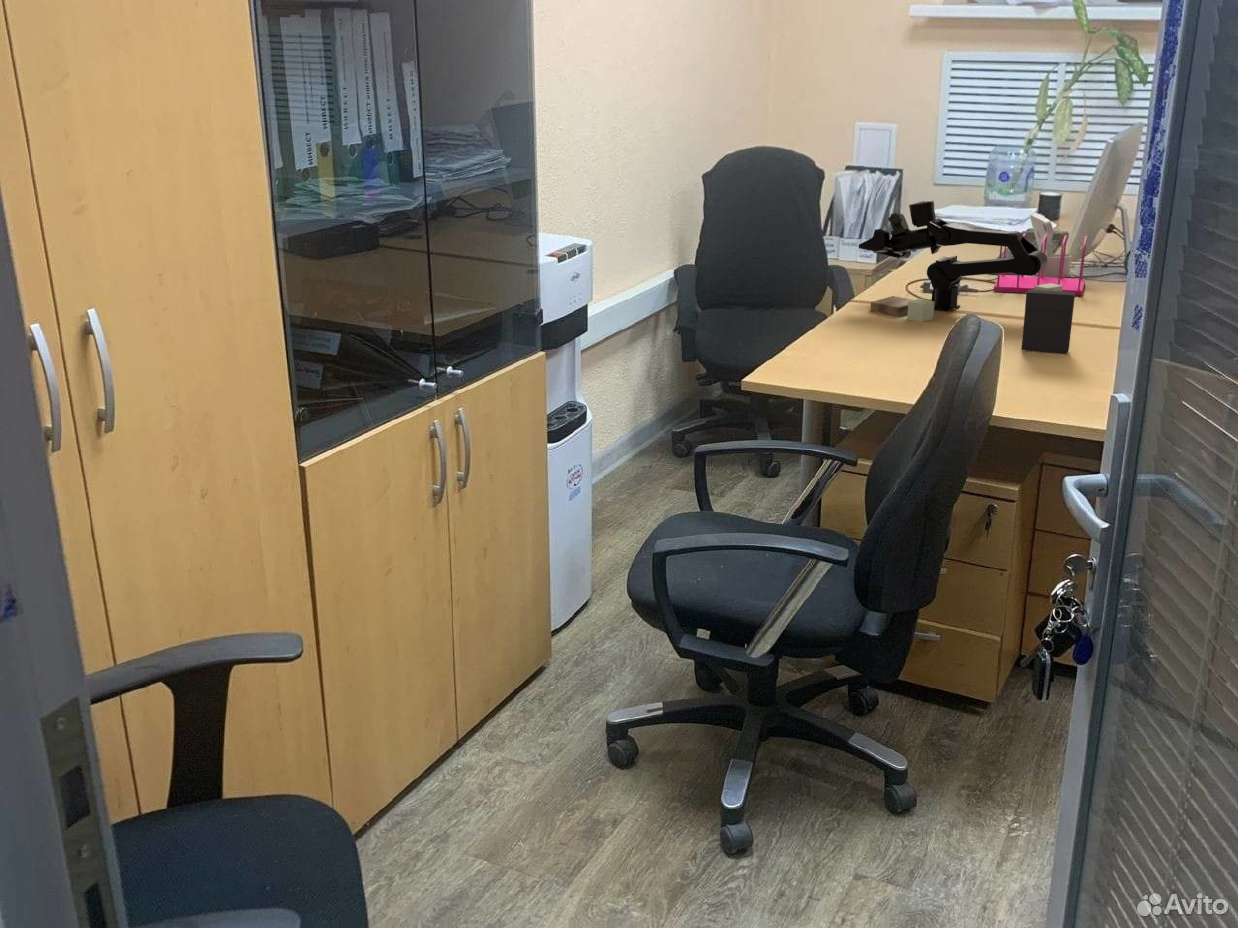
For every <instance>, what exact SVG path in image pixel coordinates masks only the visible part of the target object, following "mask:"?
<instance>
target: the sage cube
mask: <svg viewBox="0 0 1238 928" xmlns="http://www.w3.org/2000/svg"><path fill="white" fill-rule="evenodd" d="M912 300H913V301H909V302H908V314H906V317H907V320H911V321H914V322H915V321H916V322H921V323H923V322H927V321H930V320H933V319H934V311H935V308H934V301H932V300H928V299H923V298H917V299H912Z"/></svg>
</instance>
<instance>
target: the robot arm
mask: <svg viewBox="0 0 1238 928" xmlns="http://www.w3.org/2000/svg"><path fill="white" fill-rule="evenodd" d="M908 207H909V212H910V219H911V224H912V225H913V226H914V227H916V229H913V230H911V229H910V227H909V224H908V222H907V220H906V217H905V215H904V214H903V213H900V212H895V213H891V214H890V216H889V217H887V220H888V222H889V223H890V226H891V227H892V230H891V233H890V232H889V231H888V230H887V229H883V228H877V229H874V232H873V235H872V237H871V238H869V239H867V240H865V241H863V242H861V243H859V244H858V249H859V250H860V249H861V250H865V251H870V252H872V253H874V254H878V255H883V256H887V257H891V258H895V259H901V260H906V259H909V258H910V257H911V255H912V253H915V252H917V251H919V250H924V249H930V254H932V255H935V254H936V253H938V252H939V250H940V249H941V248H942V247H948V246H949V247H952V246H957V245H964V244H971V245H973V244H974V245H985V246H997V247H1000V246H1002V247H1005V246H1007V247H1006V248H1007V249H1008V250H1009V251H1010V253H1011V255H1012V257H1006V258H1004V257H1003V258H1002V257H1001V259H999V258H991V259H981V260H968V261H961V260H958V255H954V256H948V257H947V256H945V255H944V256H942V257H941V258H939V259H936V260H935V262H933V263H931V264H930V265H929V266H928V267H927V269H926V276H927V278H928V279H929V280H930V284H931V286H932V290H931V301H934V310H935V309H936V310H941V311H950V310H954V309H958V308H961V304H958V298H959V297H958V296H959V295H958V294H959V287H958V285H959V284H960V282H961V280H962V277H968V276H969V277H970V276H971V277H972V276H980V275H981V276H982V275H995V274H997V275H998V273H1000V274H1002V273H1004V274H1008V273H1009V274H1013V275H1016V276H1017V275H1019V276H1021V275H1023V276H1032V277H1033V276H1035V275H1036V274H1037V273H1038V272H1040V271H1042V270H1043V269H1044V268H1045V267H1046V265H1047V257H1046V255H1045V254H1044V253H1043V252H1042V251H1039V248H1037V246H1036V245H1034V243H1032V242H1030V241H1029V240H1028V239H1027V238H1026V239H1025V237H1024V236H1023V234H1022V233H1021V232H1020V231H1017V230H1013V231H1012V230H1011V231H1008V230H997V229H995V230H994V229H982V228H973V227H969V226H966V225H963V224H960V223H956V222H948V221H946V220H944V219H943V218H940V217H938V218H937V217H936V213H935V212H936V211H935V203H934V200H930V201H929V200H926V201H925V200H923V201H918V202H915V203H914V202H913V203H911V204H908ZM921 227H923V228H921ZM917 228H918V229H917ZM890 235H891V237H890Z"/></svg>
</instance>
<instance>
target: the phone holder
mask: <svg viewBox="0 0 1238 928" xmlns="http://www.w3.org/2000/svg"><path fill="white" fill-rule="evenodd" d="M1029 217H1030V222H1031V226H1032V230H1033V233H1034V237H1035V240H1036V243H1037V247H1038V248H1037V249H1038V251H1040V250H1041V244H1042V241H1043V238H1044V236H1045V234H1047V243H1046V252H1045V255H1046V257H1047V265H1046V267H1045V268H1044V270H1043V277H1052V278H1058V276H1059V267H1060V257H1061V253H1060V254H1054V252H1053V247H1052V245H1051V243H1052V239H1053V236H1054V228H1053V224H1052V223H1051V221H1050V219H1048V218H1046V217H1045V216H1043V215H1040V214H1039V213H1037V212H1036V213H1032V214H1031V215H1030V216H1029ZM1044 244H1045V241H1044ZM1044 244H1043V250H1042V252H1043V253H1044ZM1062 259H1063V257H1062ZM1071 264H1072V255H1071V254H1066V253H1065V259H1064V267H1063V276H1062V278H1071V275H1072V273H1071ZM1061 268H1062V266H1061ZM1035 275H1036V277H1038V273H1037V274H1035ZM1040 277H1041V271H1040ZM1060 277H1061V276H1060Z"/></svg>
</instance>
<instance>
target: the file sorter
mask: <svg viewBox="0 0 1238 928" xmlns="http://www.w3.org/2000/svg"><path fill="white" fill-rule="evenodd" d="M1022 235H1023V236H1024V237H1025V239H1027V234H1026V233H1025V232H1024V233H1023V234H1022ZM1067 238H1068V236H1067V234H1065V235H1064V237H1063V240H1062V244H1061V250H1060V251H1061V252H1060V254H1061V257H1060V267H1059V276H1058V277H1043V270H1044V269H1043V270H1042V271H1041V277H1040V272H1038V276H1033V275H1032V276H1026V275H1017V274H1016V275H1009V274H1008V275H1007V274H1005V273H997V278H996V279H997V280H996V282H995V284H994V287H993V292H997V293H999V292H1001V293H1022V294H1027V292H1028V290H1034V286H1036V285H1042V284H1048V283H1053V284H1057V285H1062V286H1063V290H1062V291H1063V292H1074V293H1075V297H1082V296H1083V293H1084V287H1085V279H1084V278H1083V276H1084V267H1085V265H1084V264H1085V257H1086V250H1087V243H1088V242H1087V241H1088V236H1087V235H1085V236H1084V240H1083V245H1082V250H1081V251H1082V253H1081V259H1080V260H1081V261H1080V266H1079V267H1080V269H1079V277H1078V278H1071V277H1062V276H1063V267H1064V259H1065V254H1066V250H1067V248H1066V247H1067V240H1068V239H1067ZM1044 241H1045V244H1044ZM1046 243H1047V234H1045V236H1044V238H1043V241H1042V244H1041V250H1040V251H1042V250H1043V244H1044V254H1045V252H1046ZM999 247H1000V248H999V258H998V259H1002V255H1003V258H1007V257H1006V255H1007V248H1008V247H1007V246H1004V249H1003V246H999ZM1003 250H1004V251H1003ZM1062 257H1063V259H1062ZM1061 266H1062V268H1061ZM1060 276H1061V277H1060Z"/></svg>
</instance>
